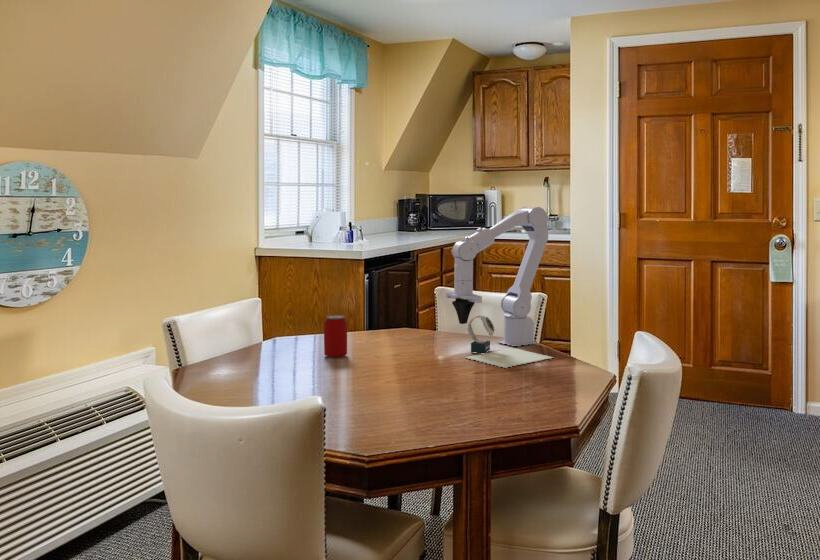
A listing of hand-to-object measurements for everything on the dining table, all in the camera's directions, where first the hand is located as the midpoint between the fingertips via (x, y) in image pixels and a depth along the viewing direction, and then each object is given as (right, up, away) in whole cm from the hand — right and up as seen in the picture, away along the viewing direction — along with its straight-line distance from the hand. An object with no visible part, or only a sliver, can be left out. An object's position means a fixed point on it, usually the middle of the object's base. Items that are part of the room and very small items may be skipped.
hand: (463, 323), depth 229 cm
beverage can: (-38, -9, -12) cm, 41 cm away
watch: (+5, -9, -5) cm, 11 cm away
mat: (+12, -9, -15) cm, 21 cm away
